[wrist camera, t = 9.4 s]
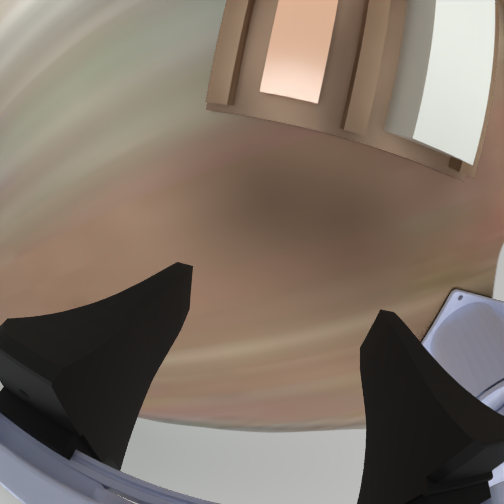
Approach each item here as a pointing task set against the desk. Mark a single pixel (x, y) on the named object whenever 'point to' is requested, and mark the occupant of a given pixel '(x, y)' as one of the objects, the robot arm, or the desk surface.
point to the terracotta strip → (299, 49)
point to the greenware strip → (444, 75)
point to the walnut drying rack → (330, 77)
